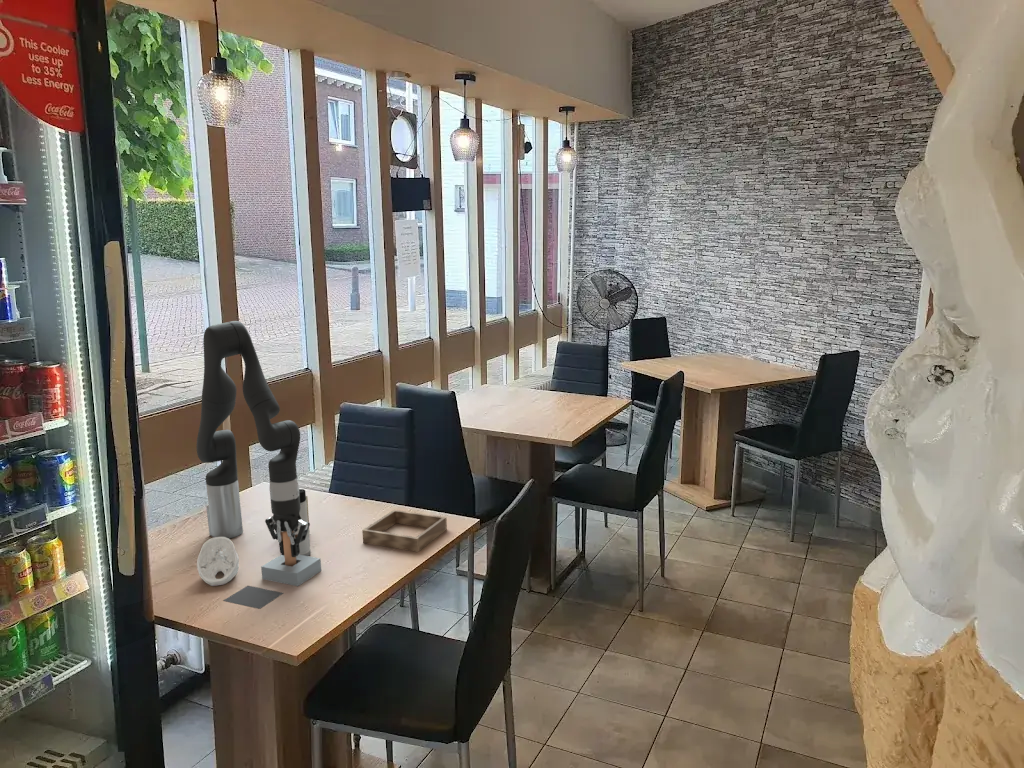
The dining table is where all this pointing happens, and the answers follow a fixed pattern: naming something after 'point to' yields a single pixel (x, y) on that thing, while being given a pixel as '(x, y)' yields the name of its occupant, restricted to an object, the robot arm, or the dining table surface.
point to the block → (291, 570)
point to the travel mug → (305, 544)
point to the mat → (253, 597)
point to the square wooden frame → (378, 537)
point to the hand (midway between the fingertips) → (290, 554)
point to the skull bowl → (217, 561)
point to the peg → (288, 550)
